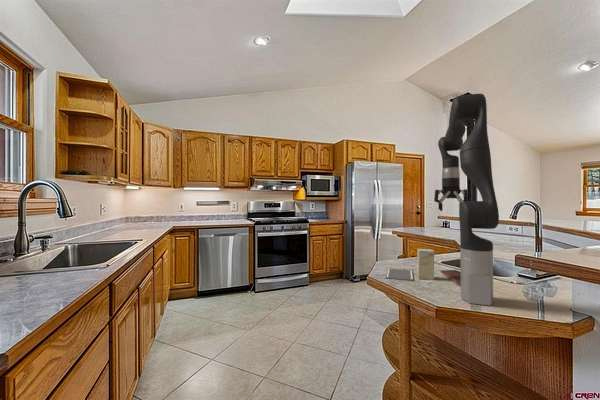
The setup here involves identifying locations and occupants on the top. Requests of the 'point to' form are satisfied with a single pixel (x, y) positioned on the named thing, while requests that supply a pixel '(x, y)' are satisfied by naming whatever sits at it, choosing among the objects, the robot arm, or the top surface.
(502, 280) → the top surface
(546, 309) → the top surface
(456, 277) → the wooden tablet
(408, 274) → the mat
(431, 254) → the skincare box
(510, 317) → the top surface
